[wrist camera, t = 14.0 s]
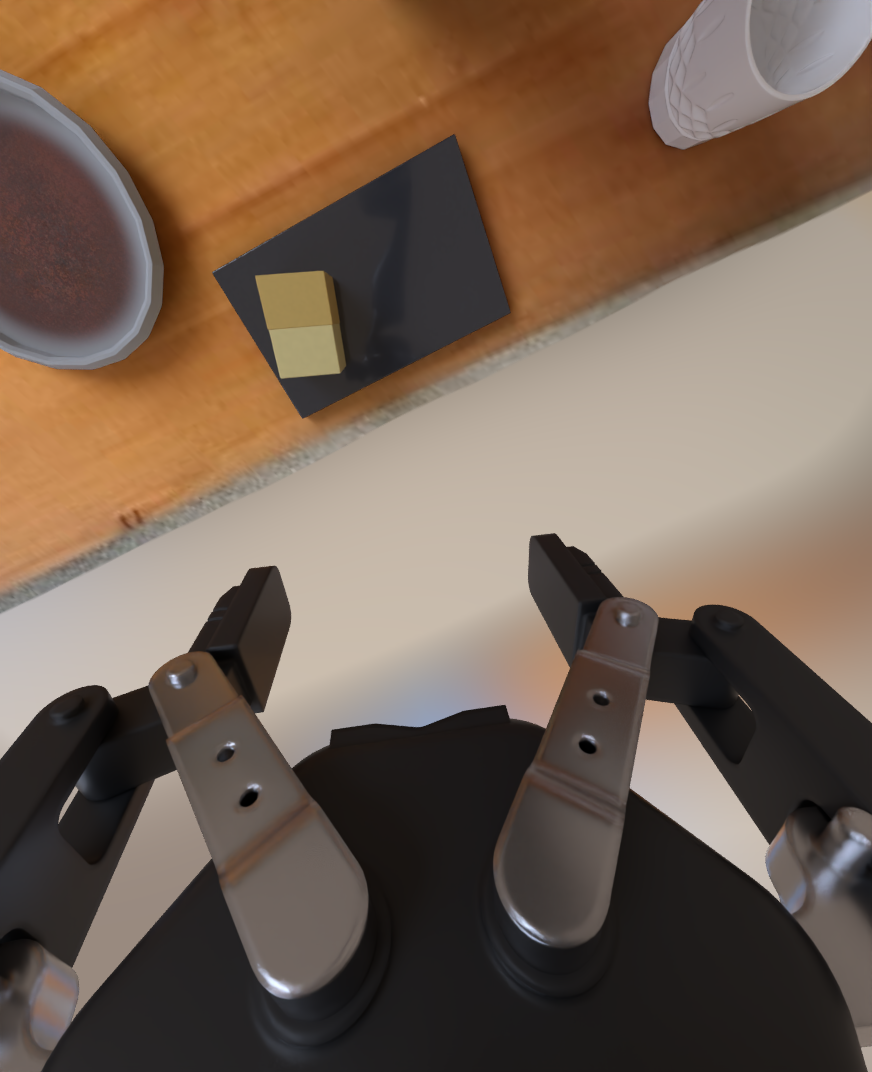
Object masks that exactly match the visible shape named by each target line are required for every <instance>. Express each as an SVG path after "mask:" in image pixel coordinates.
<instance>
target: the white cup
mask: <svg viewBox="0 0 872 1072" xmlns="http://www.w3.org/2000/svg"><path fill="white" fill-rule="evenodd" d="M871 39H872V0H703V1H702V2H701V3H700V5H699V6H698V7H697V9H696V10H695V12H694V13H693V15H692V16H691V17H690V18H689V20H688V21H687V22H686V23H685V25H684V26H683V27H682V28H681V29H680V30H679V31H678V32H677V33H676V34H675V35H674V36H673V37H672V38H671V39H670V41H669V42H668V43H667V44H666V45H665V47H664V50H663V52H662V54H661V56H660V58H659V60H658V63H657V65H656V67H655V69H654V71H653V74H652V80H651V88H650V95H649V102H648V104H649V109H650V114H651V119H652V124H653V128H654V130H655V131H656V132H657V134H658V135H659V136H660V138H661V139H662V140H663V142H664V143H665V144H666V145H669V146H673V147H676V148H679V149H683V150H684V149H687V148H690V147H693V146H696V145H699V144H702V143H705V142H707V141H709V140H711V139H713V138H719V137H721V136H724V135H726V134H728V133H730V132H733V131H736V130H738V129H740V128H743V127H745V126H747V125H750V124H753V123H755V122H757V121H760V120H762V119H764V118H766V117H768V116H770V115H773V114H775V113H777V112H779V111H781V110H783V109H786V108H788V107H790V106H792V105H794V104H797V103H799V102H801V101H803V100H805V99H808V98H810V97H812V96H814V95H817V94H819V93H820V92H822V91H824V90H825V89H827V88H828V87H830V86H831V85H833V84H834V83H835V82H836V81H837V80H839V79H840V78H841V77H842V76H843V75H844V74H845V73H846V72H847V71H848V70H849V69H850V68H851V67H852V66H853V64H854V63H855V62H856V61H857V59H858V58H859V57H860V56H861V54H862V53H863V51H864V50H865V49H866V47H867V45H868V44H869V42H870V41H871Z"/></svg>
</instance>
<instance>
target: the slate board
mask: <svg viewBox="0 0 872 1072" xmlns="http://www.w3.org/2000/svg"><path fill="white" fill-rule="evenodd" d="M311 271H325V272H326V273H327V274H329V275H330V276H331V277H332V278H333V283H334V289H335V295H336V301H337V308H338V314H339V320H340V323H339V324H340V330H341V337H342V343H343V349H344V355H345V361H346V367H345V368H344V369H343V370H342V372H341V373H339V374H328V375H317V376H305V377H294V378H283V379H281V378H280V374H279V370H278V366H277V362H276V358H275V354H274V349H273V345H272V341H271V337H270V333H269V330H268V328H267V324H266V320H265V316H264V312H263V307H262V303H261V299H260V295H259V291H258V287H257V282H256V278H255V276H256V275H269V274H283V273H297V272H311ZM212 273H213V275H214V277H215V278H216V280H217V282H218V283H219V285H220V286H221V288H222V290H223V291H224V293H225V294H226V296H227V298H228V299H229V301H230V303H231V304H232V306H233V307H234V309H235V311H236V312H237V314H238V315H239V317H240V319H241V320H242V322H243V324H244V325H245V327H246V328H247V330H248V332H249V333H250V335H251V337H252V338H253V340H254V341H255V343H256V345H257V346H258V348H259V349H260V351H261V353H262V354H263V356H264V358H265V359H266V361H267V362H268V364H269V366H270V367H271V369H272V371H273V372H274V374H275V375H276V377H277V379H278V380H279V382H280V383H281V385H282V387H283V388H284V390H285V392H286V393H287V395H288V396H289V398H290V400H291V401H292V403H293V404H294V406H295V408H296V409H297V411H298V413H299V414H300V416H301V417H302V419H303V418H305V417H307V416H309V415H311V414H313V413H315V412H317V411H319V410H321V409H323V408H325V407H327V406H329V405H331V404H333V403H335V402H337V401H339V400H341V399H343V398H344V397H346V396H348V395H350V394H352V393H354V392H356V391H358V390H360V389H362V388H364V387H366V386H368V385H370V384H372V383H374V382H376V381H378V380H380V379H382V378H384V377H386V376H388V375H390V374H392V373H394V372H396V371H398V370H399V369H401V368H403V367H405V366H407V365H409V364H411V363H413V362H415V361H417V360H419V359H421V358H423V357H425V356H427V355H429V354H431V353H433V352H435V351H437V350H439V349H441V348H443V347H445V346H447V345H449V344H451V343H453V342H454V341H456V340H458V339H460V338H462V337H464V336H466V335H468V334H470V333H472V332H474V331H476V330H478V329H480V328H482V327H484V326H486V325H488V324H490V323H492V322H494V321H496V320H498V319H500V318H502V317H504V316H506V315H508V314H509V313H511V312H510V308H509V305H508V302H507V299H506V296H505V292H504V289H503V286H502V283H501V280H500V276H499V273H498V270H497V267H496V264H495V261H494V257H493V254H492V251H491V248H490V245H489V241H488V238H487V235H486V232H485V229H484V225H483V222H482V219H481V216H480V213H479V209H478V206H477V203H476V200H475V197H474V193H473V190H472V187H471V184H470V181H469V177H468V174H467V171H466V168H465V165H464V162H463V158H462V155H461V152H460V149H459V146H458V142H457V139H456V136H455V134H453V135H452V136H450V137H448V138H446V139H445V140H443V141H441V142H439V143H438V144H436V145H434V146H432V147H431V148H429V149H427V150H425V151H424V152H422V153H420V154H418V155H417V156H415V157H413V158H411V159H410V160H408V161H406V162H404V163H403V164H401V165H399V166H397V167H396V168H394V169H392V170H390V171H389V172H387V173H385V174H383V175H382V176H380V177H378V178H376V179H375V180H373V181H371V182H369V183H367V184H366V185H364V186H362V187H360V188H359V189H357V190H355V191H353V192H352V193H350V194H348V195H346V196H345V197H343V198H341V199H339V200H338V201H336V202H334V203H332V204H331V205H329V206H327V207H325V208H324V209H322V210H320V211H318V212H317V213H315V214H313V215H311V216H310V217H308V218H306V219H304V220H303V221H301V222H299V223H297V224H296V225H294V226H292V227H290V228H289V229H287V230H285V231H283V232H282V233H280V234H278V235H276V236H275V237H273V238H271V239H269V240H268V241H266V242H264V243H262V244H260V245H259V246H257V247H255V248H253V249H252V250H250V251H248V252H246V253H245V254H243V255H241V256H239V257H238V258H236V259H234V260H232V261H231V262H229V263H227V264H225V265H224V266H222V267H220V268H218V269H217V270H215V271H213V272H212Z"/></svg>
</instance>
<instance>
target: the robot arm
mask: <svg viewBox="0 0 872 1072" xmlns="http://www.w3.org/2000/svg"><path fill="white" fill-rule="evenodd" d="M528 567H529V568H528V583H529V588H530V592H531V595H532V597H533V599H534V601H535V602H536V604H537V606H538V608H539V610H540V612H541V614H542V616H543V617H544V619H545V621H546V623H547V625H548V627H549V629H550V631H551V633H552V635H553V636H554V638H555V640H556V642H557V644H558V646H559V648H560V649H561V651H562V653H563V655H564V657H565V659H566V661H567V663H568V665H569V667H570V670H569V672H568V675H567V677H566V680H565V682H564V685H563V687H562V690H561V692H560V695H559V698H558V700H557V702H556V705H555V708H554V710H553V713H552V715H551V718H550V720H549V723H548V725H547V728H546V729H545V728H543V727H541V726H538V725H536V724H533V723H530V722H527V721H522V720H517V719H510V718H509V715H508V712H507V709H506V706H505V705H501V706H494V707H487V708H480V709H473V710H466V711H462V712H460V713H457V714H454V715H452V716H449V717H447V718H444V719H442V720H439V721H436V722H434V723H431V724H429V725H426V726H423V727H407V726H396V725H385V724H369V725H362V726H355V727H348V728H341V729H334V730H332V731H331V739H330V745H329V746H326V747H324V748H322V749H320V750H318V751H316V752H314V753H312V754H311V755H309V756H308V757H306V758H305V759H303V760H302V761H300V762H299V763H298V764H297V765H295V766H294V767H293V768H291V767H290V765H289V764H288V762H287V761H286V760H285V758H284V756H283V755H282V754H281V752H280V751H279V749H278V747H277V746H276V745H275V743H274V742H273V740H272V739H271V737H270V736H269V734H268V733H267V731H266V730H265V728H264V727H263V725H262V724H261V722H260V721H259V719H258V718H257V716H256V715H255V713H260V712H264V709H265V706H266V703H267V699H268V696H269V693H270V690H271V686H272V683H273V680H274V677H275V674H276V670H277V667H278V664H279V661H280V657H281V654H282V651H283V647H284V644H285V641H286V637H287V634H288V631H289V628H290V624H291V610H290V605H289V602H288V598H287V595H286V592H285V588H284V585H283V582H282V579H281V576H280V572H279V570H278V568H277V567H276V566H268V567H259V568H251V569H249V570H248V572H247V574H246V576H245V577H244V579H243V581H242V583H241V585H240V586H234V587H232V588H231V589H230V590H229V591H228V592H226V593H225V594H224V595H223V596H222V597H221V598H220V599H219V601H218V602H217V604H216V606H215V607H214V609H213V612H212V613H211V614H210V616H209V618H208V622H206V623H205V624H204V626H203V628H202V630H201V631H200V633H199V635H198V636H197V638H196V640H195V641H194V643H193V645H192V647H191V648H190V650H189V652H188V653H186V654H183V655H180V656H178V657H176V658H174V659H172V660H170V661H169V662H167V663H166V664H164V665H163V666H162V667H160V668H159V669H158V670H157V671H156V672H155V673H154V675H153V676H152V678H151V679H150V682H149V685H148V686H146V687H143V688H140V689H137V690H134V691H131V692H129V693H126V694H123V695H120V696H117V697H114V698H112V697H111V695H110V694H109V692H108V691H107V690H106V688H104V687H102V686H98V685H92V686H86V687H81V688H78V689H75V690H73V691H70V692H69V693H66V694H64V695H62V696H60V697H59V698H57V699H55V700H54V701H52V702H51V703H50V704H48V705H47V706H46V707H44V708H43V709H42V710H41V711H40V712H39V713H38V714H37V715H36V716H35V717H34V719H33V720H32V721H31V722H30V724H29V725H28V726H27V727H26V729H25V730H24V731H23V732H22V734H21V735H20V736H19V737H18V738H17V740H16V741H15V742H14V743H13V745H12V746H11V747H10V748H9V750H8V751H7V752H6V753H5V754H4V756H3V757H2V758H1V760H0V1072H868V1071H867V1068H866V1065H865V1061H864V1058H863V1054H862V1051H861V1047H867V1046H872V723H871V722H870V721H869V720H868V719H866V718H865V717H864V716H863V715H862V714H861V713H860V712H859V711H857V710H856V709H855V708H854V707H853V706H852V705H851V704H849V703H848V702H847V701H846V700H845V699H844V698H843V697H842V696H841V695H839V694H838V693H837V692H836V691H835V690H834V689H832V687H830V686H829V685H828V684H827V683H826V682H825V681H823V679H821V678H820V677H819V676H818V675H817V674H816V673H815V672H813V671H812V670H811V669H810V668H809V667H808V666H807V665H806V664H805V663H803V662H802V661H801V660H800V659H799V658H798V657H797V656H796V655H794V654H793V653H792V652H791V651H790V650H789V649H788V648H787V647H785V646H784V645H783V644H782V643H781V642H780V641H779V640H778V639H776V638H775V637H774V636H773V635H772V634H771V633H769V631H767V630H766V629H765V628H764V627H763V626H762V625H760V624H759V623H758V622H757V621H756V620H755V619H753V618H752V617H751V616H749V615H748V614H746V613H744V612H742V611H739V610H737V609H734V608H731V607H727V606H722V605H705V606H701V607H699V608H697V609H696V611H695V612H694V615H693V619H692V621H689V620H678V619H668V618H660V617H658V615H657V614H656V612H655V611H654V610H653V609H652V608H651V607H650V606H648V605H647V604H645V603H643V602H640V601H638V600H635V599H631V598H626V597H623V596H622V594H621V593H620V592H619V591H618V590H617V589H616V588H615V586H614V585H613V584H612V583H611V582H610V581H609V579H608V578H607V577H606V576H605V575H604V574H603V573H602V572H601V570H600V569H599V568H598V567H597V565H595V563H594V562H593V561H592V559H591V558H590V557H589V556H588V555H587V554H586V553H584V552H583V551H581V550H579V549H577V548H575V547H574V546H571V547H566V546H565V545H564V543H563V542H562V541H561V539H560V538H559V537H558V536H557V535H556V534H555V533H553V534H544V535H536V536H531V538H530V544H529V566H528ZM738 695H740V696H741V697H742V698H743V700H744V701H745V702H746V703H747V704H748V706H749V707H750V708H751V710H752V711H751V710H750V709H749V707H748V706H747V705H746V704H745V703H744V702H743V701H742V699H741V698H740V697H739V696H738ZM646 699H647V700H654V701H660V702H668V703H674V704H675V705H676V707H677V708H678V710H679V711H680V713H681V714H682V716H683V717H684V718H685V720H686V722H687V723H688V725H689V726H690V728H691V729H692V731H693V732H694V734H695V735H696V736H697V738H698V739H699V741H700V742H701V744H702V745H703V747H704V748H705V750H706V751H707V753H708V754H709V756H710V757H711V759H712V760H713V762H714V763H715V765H716V766H717V768H718V769H719V771H720V772H721V773H722V775H723V777H724V778H725V779H726V781H727V782H728V784H729V785H730V787H731V788H732V790H733V791H734V793H735V794H736V796H737V797H738V798H739V800H740V802H741V803H742V805H743V806H744V808H745V809H746V811H747V812H748V814H749V815H750V817H751V818H752V820H753V821H754V823H755V824H756V825H757V827H758V828H759V830H760V831H761V833H762V834H763V836H764V837H765V839H766V840H767V842H768V843H769V845H770V846H769V848H768V850H767V853H766V867H767V871H768V874H769V877H770V879H771V881H772V883H773V885H774V887H775V889H776V891H777V893H778V895H779V898H780V902H781V903H780V902H779V901H778V900H777V899H776V898H775V897H774V896H773V895H772V894H771V893H770V892H769V891H768V890H766V889H765V888H764V887H763V886H761V885H760V884H759V883H758V882H756V881H755V880H754V879H753V878H751V877H750V876H749V875H747V874H746V873H745V872H743V871H742V870H741V869H739V868H738V867H736V866H735V865H734V864H732V863H731V862H730V861H728V860H727V859H726V858H724V857H723V856H721V855H720V854H719V853H717V852H716V851H715V850H713V849H712V848H710V847H709V846H708V845H706V844H705V843H704V842H702V841H701V840H700V839H698V838H697V837H695V836H694V835H693V834H691V833H690V832H689V831H687V830H686V829H684V828H683V827H682V826H681V825H679V824H678V823H676V822H675V821H674V820H672V819H671V818H670V817H668V816H667V815H666V814H664V813H663V812H661V811H660V810H659V809H657V808H656V807H655V806H653V805H652V804H651V803H649V802H648V801H647V800H645V799H644V798H643V797H641V796H640V795H638V794H637V793H636V792H634V791H633V790H632V789H630V781H631V777H632V771H633V766H634V759H635V754H636V749H637V743H638V737H639V733H640V727H641V722H642V716H643V711H644V705H645V700H646ZM175 770H177V771H178V773H179V776H180V779H181V781H182V784H183V786H184V789H185V791H186V794H187V796H188V798H189V801H190V804H191V806H192V809H193V811H194V814H195V816H196V819H197V821H198V824H199V826H200V829H201V832H202V834H203V837H204V839H205V842H206V844H207V847H208V849H209V852H210V854H211V857H212V859H211V860H210V861H209V862H208V863H207V864H206V866H205V867H204V868H203V869H202V870H201V871H200V873H199V874H198V875H197V876H196V877H195V878H194V879H193V881H192V882H191V883H190V884H189V885H188V886H187V887H186V889H185V890H184V891H183V892H182V893H181V895H180V896H179V897H178V898H177V899H176V900H175V901H174V902H173V904H172V905H171V906H170V907H169V908H168V910H166V912H165V913H164V914H163V915H162V916H161V918H160V919H159V920H158V921H157V922H156V923H155V924H154V925H153V927H152V928H151V929H150V930H149V931H148V932H147V934H146V935H145V936H144V937H143V938H142V939H141V941H140V942H139V943H138V944H137V945H136V946H135V947H134V948H133V950H132V951H131V952H130V953H129V954H128V955H127V957H126V958H125V959H124V960H123V961H122V962H121V963H120V965H119V966H118V967H117V968H116V969H115V970H114V972H113V973H112V974H111V975H110V976H109V977H108V978H107V980H106V981H105V982H104V983H103V984H102V986H100V988H99V989H98V990H97V991H96V992H95V993H94V994H93V996H92V997H91V998H90V999H89V1000H88V1002H87V1003H86V1004H85V1005H84V1007H83V1008H82V1009H81V1010H80V1011H79V1013H78V1014H77V1015H76V1017H75V1018H74V1020H73V1021H72V1017H73V1014H74V1011H75V1007H76V1004H77V1000H78V995H79V981H78V976H77V974H76V972H75V971H74V970H73V969H72V967H73V965H74V962H75V960H76V958H77V956H78V953H79V951H80V949H81V947H82V944H83V942H84V940H85V937H86V935H87V933H88V931H89V928H90V926H91V924H92V921H93V919H94V917H95V915H96V912H97V910H98V907H99V906H100V903H101V901H102V899H103V896H104V894H105V892H106V890H107V887H108V885H109V883H110V880H111V878H112V876H113V874H114V871H115V869H116V867H117V864H118V862H119V860H120V858H121V855H122V853H123V851H124V848H125V846H126V844H127V842H128V839H129V837H130V835H131V832H132V830H133V828H134V826H135V823H136V821H137V819H138V816H139V814H140V812H141V809H142V807H143V805H144V803H145V801H146V798H147V796H148V794H149V791H150V789H151V787H152V785H153V782H154V780H155V779H156V778H158V777H160V776H163V775H165V774H168V773H170V772H173V771H175ZM75 786H76V787H77V788H78V792H77V794H76V795H75V797H74V799H73V801H72V802H71V804H70V805H69V807H68V809H67V811H66V812H65V814H64V816H63V817H62V819H61V821H60V822H59V824H58V820H59V815H60V812H61V810H62V807H63V805H64V804H65V802H66V800H67V799H68V797H69V795H70V794H71V792H72V790H73V789H74V787H75Z"/></svg>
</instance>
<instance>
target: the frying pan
mask: <svg viewBox="0 0 872 1072" xmlns="http://www.w3.org/2000/svg"><path fill="white" fill-rule="evenodd" d="M163 276H164V264H163V260H162V256H161V252H160V248H159V244H158V240H157V235H156V231H155V227H154V223H153V220H152V218H151V216H150V214H149V212H148V210H147V208H146V206H145V204H144V202H143V200H142V198H141V196H140V195H139V193H138V191H137V189H136V187H135V185H134V183H133V181H132V179H131V177H130V175H129V173H128V171H127V170H126V169H125V168H124V167H123V165H122V164H121V163H120V162H119V160H118V159H117V158H116V157H115V156H114V154H113V153H112V152H111V151H110V149H109V148H108V147H107V146H106V145H105V143H104V142H103V141H102V140H101V139H100V137H99V136H98V135H97V134H96V132H95V131H94V130H93V129H92V128H91V126H90V125H88V124H87V123H86V122H85V121H83V120H82V119H81V118H80V117H78V116H77V115H76V114H74V113H73V112H72V111H71V110H69V109H68V108H67V107H66V106H64V105H63V104H62V103H60V102H59V101H58V100H57V99H55V98H54V97H53V96H52V95H50V94H49V93H48V92H46V91H45V90H44V89H43V88H41V87H39V86H37V85H34V84H32V83H30V82H27V81H25V80H23V79H21V78H18V77H16V76H14V75H12V74H9V73H7V72H5V71H3V70H0V348H1V349H2V350H4V351H6V352H8V353H10V354H11V355H13V356H15V357H18V358H21V359H25V360H28V361H31V362H35V363H38V364H41V365H45V366H48V367H51V368H55V369H87V370H94V369H97V368H100V367H103V366H106V365H109V364H112V363H115V362H118V361H121V360H124V359H126V358H127V357H128V356H129V355H130V354H131V353H132V352H133V351H134V350H135V349H136V348H138V347H139V346H140V345H141V344H142V343H143V342H144V341H145V340H146V339H147V338H148V337H149V335H150V333H151V330H152V328H153V326H154V323H155V321H156V319H157V316H158V314H159V312H160V309H161V307H162V296H163Z"/></svg>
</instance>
